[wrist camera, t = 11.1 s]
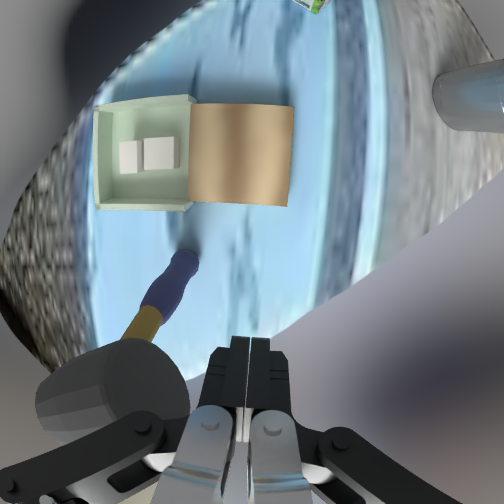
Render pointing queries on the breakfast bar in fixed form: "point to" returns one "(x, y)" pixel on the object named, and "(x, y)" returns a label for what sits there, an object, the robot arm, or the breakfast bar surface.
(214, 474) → the robot arm
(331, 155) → the breakfast bar surface
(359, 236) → the breakfast bar surface
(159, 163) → the tile
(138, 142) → the tile
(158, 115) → the tray
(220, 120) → the board
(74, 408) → the rubber mallet
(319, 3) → the syrup box
